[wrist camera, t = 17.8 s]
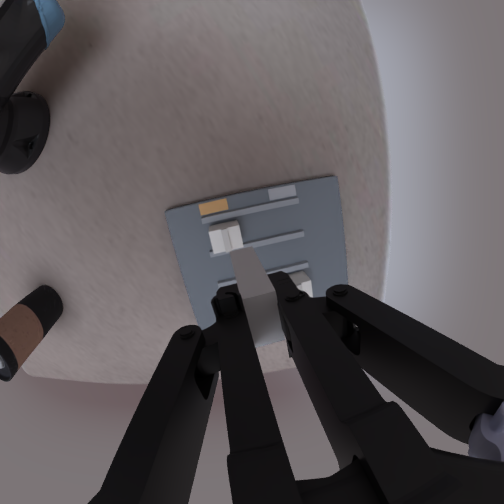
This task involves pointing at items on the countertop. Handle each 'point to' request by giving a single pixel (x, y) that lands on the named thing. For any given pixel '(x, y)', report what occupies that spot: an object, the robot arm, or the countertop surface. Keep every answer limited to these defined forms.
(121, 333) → the countertop surface
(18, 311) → the travel mug
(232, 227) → the tab
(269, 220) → the switch board
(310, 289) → the tab
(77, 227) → the countertop surface
